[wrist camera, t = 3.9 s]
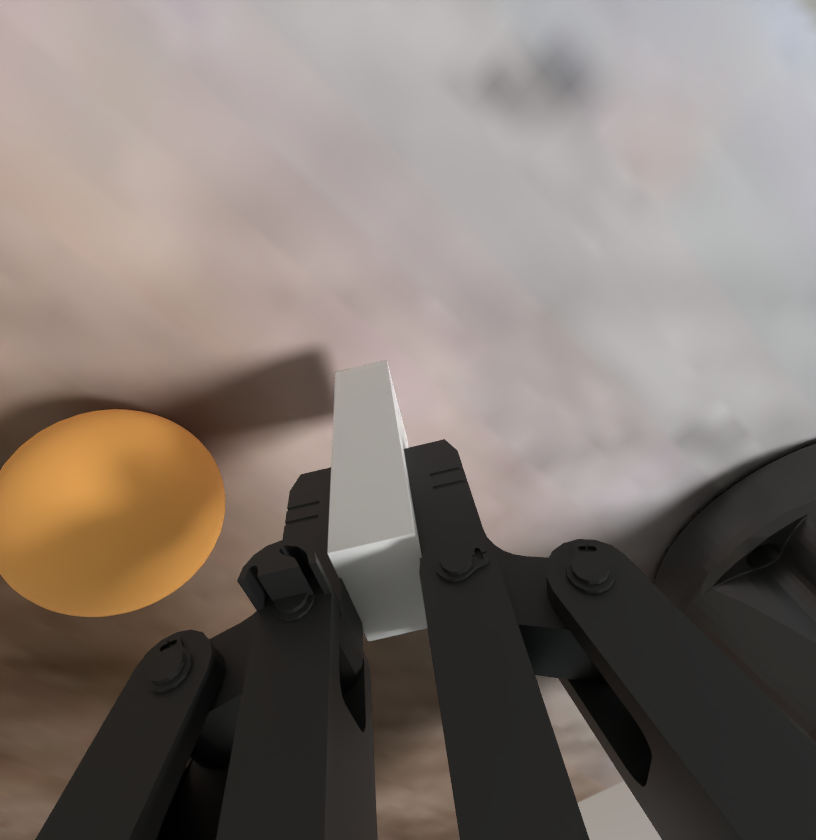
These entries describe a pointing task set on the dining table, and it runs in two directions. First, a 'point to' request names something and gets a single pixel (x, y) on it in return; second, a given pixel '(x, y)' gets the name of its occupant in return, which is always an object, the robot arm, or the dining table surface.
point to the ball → (107, 512)
